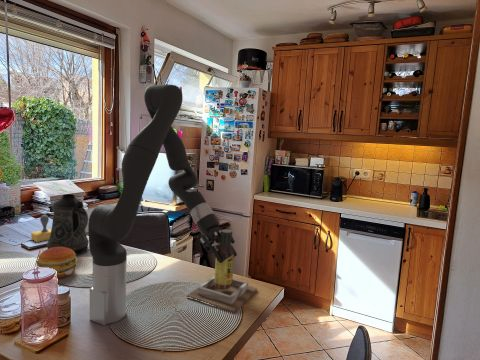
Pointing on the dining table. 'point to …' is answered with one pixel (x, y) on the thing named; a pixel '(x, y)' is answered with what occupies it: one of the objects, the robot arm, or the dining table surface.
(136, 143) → the robot arm
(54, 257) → the burger
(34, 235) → the rubber stamp
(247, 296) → the carrier board
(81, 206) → the beer stein
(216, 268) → the sauce bottle
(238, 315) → the dining table surface
